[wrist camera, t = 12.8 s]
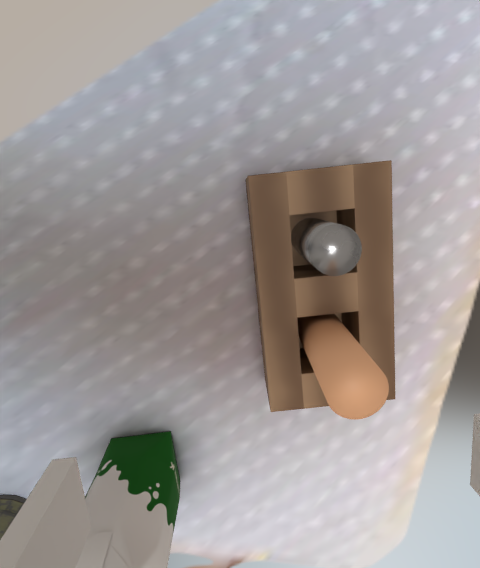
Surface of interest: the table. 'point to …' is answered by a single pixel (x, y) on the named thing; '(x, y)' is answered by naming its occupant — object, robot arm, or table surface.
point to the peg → (342, 367)
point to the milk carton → (133, 504)
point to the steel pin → (327, 245)
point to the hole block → (311, 282)
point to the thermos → (9, 510)
